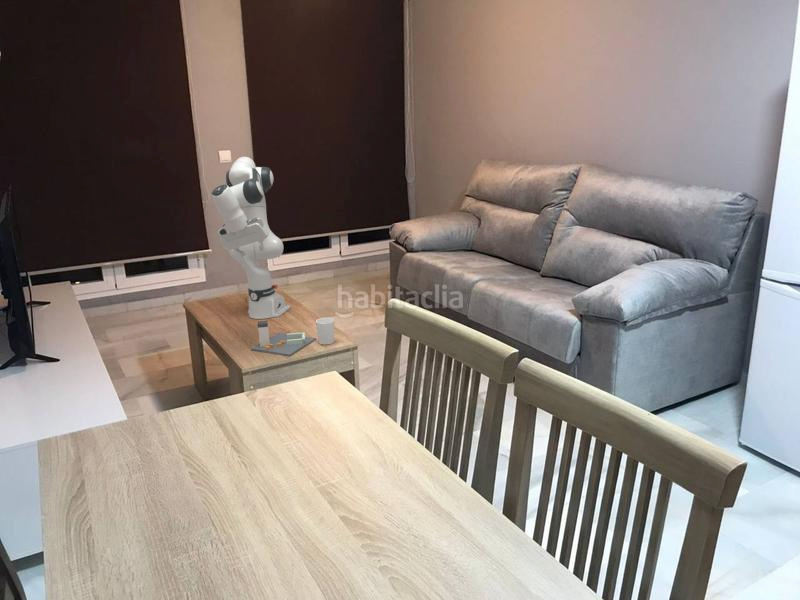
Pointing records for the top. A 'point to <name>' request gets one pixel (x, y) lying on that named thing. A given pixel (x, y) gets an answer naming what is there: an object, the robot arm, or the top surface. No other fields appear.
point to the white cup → (325, 330)
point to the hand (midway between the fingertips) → (252, 252)
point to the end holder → (296, 341)
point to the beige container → (263, 333)
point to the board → (282, 345)
